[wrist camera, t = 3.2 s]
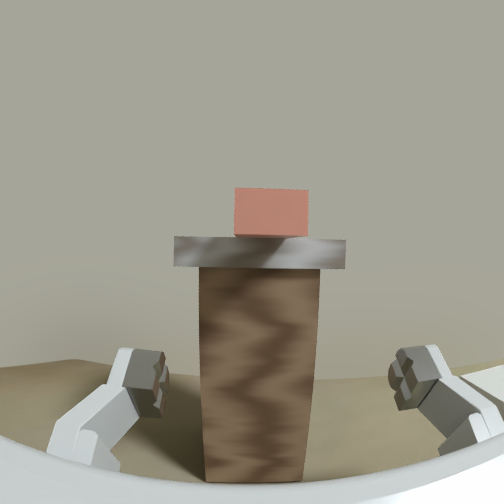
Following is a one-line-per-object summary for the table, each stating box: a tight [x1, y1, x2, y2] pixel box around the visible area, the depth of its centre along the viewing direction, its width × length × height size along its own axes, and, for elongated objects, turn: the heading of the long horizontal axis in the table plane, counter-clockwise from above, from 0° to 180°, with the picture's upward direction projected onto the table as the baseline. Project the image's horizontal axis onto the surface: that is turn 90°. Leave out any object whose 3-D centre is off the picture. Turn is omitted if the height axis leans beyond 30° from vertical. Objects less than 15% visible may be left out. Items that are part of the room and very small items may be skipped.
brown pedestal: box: [174, 236, 346, 483], centre depth 32 cm, size 14×13×25 cm
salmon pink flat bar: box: [234, 188, 308, 238], centre depth 28 cm, size 4×22×2 cm, turn 2°
